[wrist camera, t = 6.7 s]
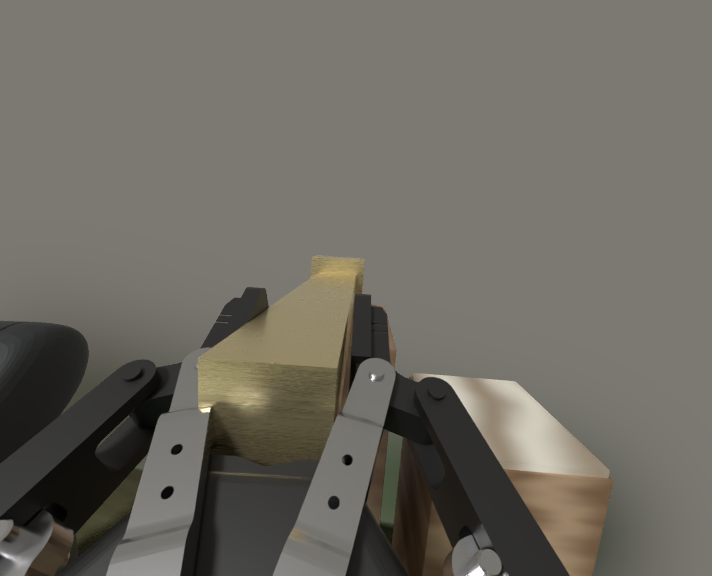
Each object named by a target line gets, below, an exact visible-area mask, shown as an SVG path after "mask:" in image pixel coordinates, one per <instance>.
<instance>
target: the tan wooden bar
mask: <svg viewBox="0 0 712 576" xmlns="http://www.w3.org/2000/svg"><path fill="white" fill-rule="evenodd" d="M311 271H312V272H311V278H310V279H308V280H307V281H306V282H304V283H303V284H301V285H300V286H299V287H297V288H296V289H294V290H293V291H292V292H290V293H289V294H287V295H286V296H285V297H283V298H282V299H280V300H279V301H277V302H276V303H275V304H273V305H272V306H270V307H269V308H268V309H266V310H265V311H263V312H262V313H261V314H259V315H258V316H256V317H255V318H253V319H252V320H251V321H249V322H248V323H246V324H245V325H244V326H242V327H241V328H239V329H238V330H237V331H235V332H234V333H232V334H231V335H229V336H228V337H227V338H225V339H224V340H222V341H221V342H220V343H218V344H217V345H215V346H214V347H213V348H211V349H210V350H208V351H207V352H205V353H204V354H203V355H201V356H200V357H198V407H207V406H212V412H213V419H214V426H215V432H216V439H217V446H218V447H217V448H215V449H212V450H210V454H212V455H228V456H238V457H241V458H244V459H246V460H249V461H252V462H254V463H257V464H260V465H262V466H273V465H278V464H282V463H287V462H292V461H297V460H310V461H320V459H321V456H322V453H323V451H324V448H325V446H326V443H327V440H328V438H329V435H330V433H331V430H332V427H333V425H334V422H335V420H336V418H337V416H338V414H339V413H340V408H341V400H342V393H343V385H344V378H345V370H346V363H347V356H348V348H349V341H350V333H351V326H352V318H353V312H354V300H355V294H362V286H363V272H364V259H362V258H349V257H335V256H320V255H317V256H314V257H312V270H311Z"/></svg>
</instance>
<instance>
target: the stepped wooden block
mask: <svg viewBox="0 0 712 576" xmlns="http://www.w3.org/2000/svg"><path fill="white" fill-rule="evenodd" d="M371 306H377V307H382V308H383V309H384V311H385V312H386V310H385V306H380V305H371ZM386 314H387V313H386ZM353 316H354V312H353ZM387 320H388V317H387ZM352 331H353V318H352V326H351V333H350V341H349V348H348V356H347V363H346V370H345V378H344V385H343V393H342V400H341V408H340V413H341V412H342V410H343V408H344V405H345V402H346V400H347V397H348V394H349V380H350V364H351V348H352ZM388 334H389V349H390V361H391V365H392V366H393V368H394V369H395V358H396V347H395V343H394V340H393V336H392V333H391V328H390V325H389V321H388ZM426 377H437V378H440V379H443V380H444V381H446V382H447V383H449V384H450V385H451V386H452V388H453V389H454V391H455V392H456V394H457V395H458V397H459V399H460V400H461V402H462V403H463V405H464V407H465V408H466V410H467V411H468V413H469V415H470V416H471V418H472V419H473V421H474V423H475V424H476V426H477V427H478V429H479V431H480V432H481V434H482V435H483V437H484V439H485V440H486V442H487V443H488V445H489V447H490V448H491V450H492V452H493V453H494V455H495V456H496V458H497V460H498V461H499V463H500V464H501V466H502V468H503V469H504V471H505V472H506V474H507V476H508V477H509V479H510V480H511V482H512V484H513V485H514V487H515V488H516V490H517V492H518V493H519V495H520V496H521V498H522V500H523V501H524V503H525V504H526V506H527V508H528V509H529V511H530V512H531V514H532V516H533V517H534V519H535V520H536V522H537V524H538V525H539V527H540V528H541V530H542V532H543V533H544V535H545V536H546V538H547V540H548V541H549V543H550V544H551V546H552V548H553V549H554V551H555V552H556V554H557V556H558V557H559V559H560V560H561V562H562V564H563V565H564V567H565V568H566V570H567V572H568V573H569V575H570V576H592V575H593V570H594V565H595V561H596V556H597V552H598V547H599V543H600V538H601V534H602V530H603V525H604V521H605V516H606V512H607V507H608V503H609V498H610V493H611V489H612V485H613V480H612V479H611V478H610V477H609V472H610V471H609V469H608V468H606V467H605V466H604V465H603V464H602V463H601V462H600V461H599V460H598V459H597V458H596V457H595V456H594V455H593V454H592V453H590V452H589V450H587V449H586V448H585V447H584V446H583V445H582V444H581V443H580V442H579V441H578V440H577V439H576V438H575V437H574V436H573V435H572V434H571V433H569V432H568V431H567V430H566V429H565V428H564V427H563V426H562V425H561V424H560V423H559V422H558V421H557V420H556V419H555V418H554V417H552V415H550V414H549V413H548V412H547V411H546V410H545V409H544V408H543V407H542V406H541V405H540V404H539V403H538V402H537V401H535V399H533V398H532V397H531V396H530V395H529V394H528V393H527V392H526V391H525V390H524V389H523V388H522V387H521V386H520V385H519V384H517V382H515V381H504V380H492V379H480V378H468V377H455V376H443V375H431V374H419V373H412V376H411V377H409V379H411V380H414V381H416V382H419V381H421V380H422V379H424V378H426ZM388 432H389V431H388V430H385V429H384V432H383V436H382V440H381V444H380V448H379V453H378V457H377V461H376V465H375V469H374V474H373V478H372V482H371V486H370V491H369V495H368V499H367V505H368V507H369V508H370V510H371V512H372V513H373V515H374V517H375V518H376V520H377V522H378V524H379V525H380V515H381V504H382V494H383V484H384V473H385V462H386V452H387V441H388ZM392 547H393V549H394V551H395V552H396V554H397V556H398V557H399V559H400V561H401V562H402V564H403V566H404V567H405V569H406V571H407V572H408V574H409V576H443V564H444V561H445V558H446V556H447V555H448V553H449V552H450V551H451V550H452V546H451V544H450V541H449V539H448V537H447V534H446V532H445V530H444V527H443V525H442V523H441V520H440V518H439V516H438V513H437V511H436V508H435V506H434V504H433V501H432V499H431V497H430V494H429V492H428V490H427V487H426V485H425V483H424V480H423V478H422V475H421V473H420V471H419V468H418V466H417V464H416V461H415V459H414V457H413V454H412V452H411V450H410V447H409V445H408V443H407V440H406V438H405V437H403V442H402V451H401V461H400V471H399V481H398V491H397V500H396V510H395V519H394V529H393V538H392Z"/></svg>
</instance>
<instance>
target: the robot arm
mask: <svg viewBox="0 0 712 576" xmlns="http://www.w3.org/2000/svg"><path fill="white" fill-rule="evenodd" d="M268 308H269V307H268V300H267V294H266V290H265V288H254V287H247V288H246V289H245V292H244V293H243V295H242V297H241V298H234V299H232V300H231V301H230V302H229V303H227V304H226V305H225V307H224V308H223V310H222V312H221V314H220V315H219V317H218V319H217V320H216V323H215V324H214V326H213V327H212V329H211V331H210V333H209V334H208V336H207V338H206V340H205V341H204V343H203V345H202V347H201V348H200V349H198V350H196V351H194V352H192V353H190V354H189V355H188V356H187V357H186V358H185V359H184V360H183V362H181V363H178V364H173V365H168V366H163V367H158V368H156V366H155V364H154V363H153V362H151V361H149V360H136V361H132V362H130V363H127V364H125V365H123V366H122V367H120V368H119V369H118V370H116V371H115V372H114V373H113V374H111V375H110V376H109V377H108V378H106V379H105V380H104V381H103V382H101V383H100V384H99V385H98V386H96V387H95V388H94V389H93V390H91V391H90V392H89V393H88V394H87V395H85V396H84V397H83V398H81V399H80V400H79V401H78V402H76V403H75V404H74V405H73V406H71V407H70V408H69V409H68V410H66V411H65V412H64V413H63V414H61V413H62V412H63V410H64V409H65V408H66V406H67V405H68V403H69V402H70V400H71V399H72V397H73V395H74V394H75V392H76V390H77V389H78V387H79V385H80V383H81V381H82V378H83V376H84V374H85V370H86V367H87V363H88V357H89V350H88V344H87V341H86V339H85V338H84V336H83V335H82V334H81V333H80V332H79V331H77V330H75V329H73V328H71V327H68V326H64V325H59V324H52V323H38V322H15V321H0V576H409V574H408V572H407V571H406V569H405V567H404V566H403V564H402V562H401V561H400V559H399V557H398V556H397V554H396V552H395V551H394V549H393V547H392V545H391V544H390V542H389V540H388V539H387V537H386V535H385V534H384V532H383V530H382V529H381V527H380V525H379V524H378V522H377V520H376V518H375V517H374V515H373V513H372V512H371V510H370V508H369V507H368V505H367V499H368V495H369V491H370V486H371V482H372V478H373V474H374V469H375V465H376V461H377V457H378V453H379V448H380V444H381V440H382V436H383V432H384V429H385V430H388V431H390V432H393V433H395V434H398V435H400V436H402V437H405V438H406V440H407V443H408V445H409V447H410V450H411V452H412V454H413V457H414V459H415V461H416V464H417V466H418V468H419V471H420V473H421V475H422V478H423V480H424V483H425V485H426V487H427V490H428V492H429V494H430V497H431V499H432V501H433V504H434V506H435V508H436V511H437V513H438V516H439V518H440V520H441V523H442V525H443V527H444V530H445V532H446V534H447V537H448V539H449V541H450V544H451V546H452V550H451V551H450V552H449V553H448V555H447V556H446V558H445V561H444V564H443V576H570V575H569V573H568V572H567V570H566V568H565V567H564V565H563V564H562V562H561V560H560V559H559V557H558V556H557V554H556V552H555V551H554V549H553V548H552V546H551V544H550V543H549V541H548V540H547V538H546V536H545V535H544V533H543V532H542V530H541V528H540V527H539V525H538V524H537V522H536V520H535V519H534V517H533V516H532V514H531V512H530V511H529V509H528V508H527V506H526V504H525V503H524V501H523V500H522V498H521V496H520V495H519V493H518V492H517V490H516V488H515V487H514V485H513V484H512V482H511V480H510V479H509V477H508V476H507V474H506V472H505V471H504V469H503V468H502V466H501V464H500V463H499V461H498V460H497V458H496V456H495V455H494V453H493V452H492V450H491V448H490V447H489V445H488V443H487V442H486V440H485V439H484V437H483V435H482V434H481V432H480V431H479V429H478V427H477V426H476V424H475V423H474V421H473V419H472V418H471V416H470V415H469V413H468V411H467V410H466V408H465V407H464V405H463V403H462V402H461V400H460V399H459V397H458V395H457V394H456V392H455V391H454V389H453V388H452V386H451V385H450V384H449V383H447V382H446V381H444V380H443V379H440V378H437V377H426V378H424V379H422V380H421V381H419V382H416V381H414V380H411V379H408V378H405V377H403V376H402V375H400V374H398V373H397V372H396V371H395V369H394V368H393V366H392V365H391V361H390V349H389V334H388V320H387V314H386V312H385V311H384V309H383V308H382V307H377V306H371V295H367V294H355V300H354V316H353V331H352V348H351V364H350V380H349V394H348V397H347V400H346V402H345V405H344V408H343V410H342V412H341V413H339V414H338V416H337V418H336V420H335V422H334V425H333V427H332V430H331V433H330V435H329V438H328V440H327V443H326V446H325V448H324V451H323V453H322V456H321V459H320V461H310V460H297V461H292V462H287V463H282V464H278V465H273V466H262V465H260V464H257V463H254V462H252V461H249V460H246V459H244V458H241V457H238V456H228V455H212V454H210V450H212V449H215V448H217V447H218V446H217V439H216V432H215V426H214V419H213V412H212V406H207V407H198V357H200V356H201V355H203V354H204V353H205V352H207V351H208V350H210V349H211V348H213V347H214V346H215V345H217V344H218V343H220V342H221V341H222V340H224V339H225V338H227V337H228V336H229V335H231V334H232V333H234V332H235V331H237V330H238V329H239V328H241V327H242V326H244V325H245V324H246V323H248V322H249V321H251V320H252V319H253V318H255V317H256V316H258V315H259V314H261V313H262V312H263V311H265V310H266V309H268ZM60 414H61V415H60ZM128 415H129V416H130V417H129V418H128V419H127V420H126V421H125V422H124V423H123V424H122V425H121V426H120V427H118V428H117V429H116V430H115V431H114V432H113V433H112V434H111V435H110V436H109V437H108V438H107V439H106V440H105V441H104V442H103V443H102V444H101V445H100V446H99V447H98V448H97V446H98V444H99V443H100V442H101V441H102V440H103V439H104V438H105V437H106V436H107V435H108V434H109V433H110V432H111V431H112V430H113V429H114V428H115V427H116V426H117V425H118V424H120V422H122V421H123V420H124V418H126V417H127V416H128ZM147 453H148V456H147V460H146V463H145V467H144V470H143V473H142V477H141V480H140V484H139V487H138V491H137V494H136V498H135V501H134V505H133V508H132V512H130V513H129V514H128V515H127V516H126V517H124V518H123V519H122V520H121V521H120V522H119V523H117V524H116V525H115V526H114V527H113V528H111V529H110V530H109V531H108V532H107V533H106V534H104V535H103V536H102V537H101V538H100V539H99V540H97V541H96V542H95V543H94V544H93V545H91V546H90V547H89V548H88V549H87V550H86V551H84V552H83V553H82V554H81V555H80V556H78V550H77V537H76V532H77V531H78V530H79V529H80V528H81V527H82V526H83V525H84V524H85V522H86V521H87V520H88V519H89V518H90V517H91V516H92V515H93V514H94V512H95V511H96V510H97V509H98V508H99V507H100V506H101V505H102V504H103V502H104V501H105V500H106V499H107V498H108V497H109V496H110V495H111V494H112V492H113V491H114V490H115V489H116V488H117V487H118V486H119V485H120V484H121V482H122V481H123V480H124V479H125V478H126V477H127V476H128V475H129V474H130V472H131V471H132V470H133V469H134V468H135V467H136V466H137V465H138V464H139V462H140V461H141V460H142V459H143V458H144V457H145V456H146V455H147Z"/></svg>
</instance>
